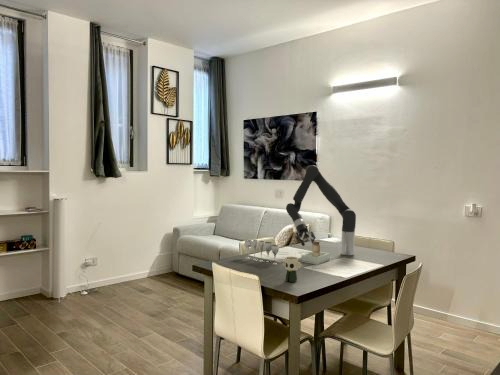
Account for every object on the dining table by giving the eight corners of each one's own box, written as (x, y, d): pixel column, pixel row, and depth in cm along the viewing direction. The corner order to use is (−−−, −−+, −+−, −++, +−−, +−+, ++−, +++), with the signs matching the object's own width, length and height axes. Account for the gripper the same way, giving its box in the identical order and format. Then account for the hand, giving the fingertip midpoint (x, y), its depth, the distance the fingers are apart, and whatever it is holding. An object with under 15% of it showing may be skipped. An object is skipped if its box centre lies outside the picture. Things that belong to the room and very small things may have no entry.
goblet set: (280, 263, 259) (280, 243, 259) (275, 265, 255) (275, 244, 254) (247, 256, 277) (248, 238, 276) (242, 258, 273) (242, 239, 272)
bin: (313, 257, 280) (314, 250, 280) (329, 259, 273) (329, 253, 272) (301, 261, 265) (301, 255, 265) (317, 264, 258) (317, 257, 258)
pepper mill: (314, 257, 273) (314, 240, 272) (320, 259, 270) (321, 241, 269) (310, 259, 269) (311, 241, 268) (317, 260, 265) (318, 242, 265)
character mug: (279, 281, 218) (279, 257, 217) (285, 278, 224) (286, 255, 223) (297, 284, 212) (297, 260, 211) (302, 281, 218) (303, 258, 217)
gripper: (294, 223, 280) (302, 242, 270) (311, 222, 286) (319, 241, 276) (290, 230, 285) (298, 248, 275) (306, 229, 291) (315, 247, 282)
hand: (309, 245), depth 276 cm, fingers open, 8 cm apart
